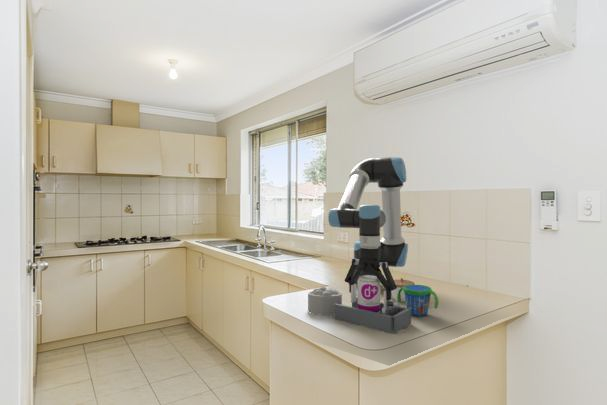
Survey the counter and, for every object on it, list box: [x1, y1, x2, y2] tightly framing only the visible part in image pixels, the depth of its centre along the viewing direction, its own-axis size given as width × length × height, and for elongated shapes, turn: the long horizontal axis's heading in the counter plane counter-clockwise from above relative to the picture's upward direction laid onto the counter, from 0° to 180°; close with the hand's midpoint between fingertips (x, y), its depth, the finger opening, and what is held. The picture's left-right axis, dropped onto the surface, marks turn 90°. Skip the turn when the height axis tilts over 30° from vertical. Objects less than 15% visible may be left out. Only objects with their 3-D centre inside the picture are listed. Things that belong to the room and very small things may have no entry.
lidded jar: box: [391, 278, 416, 303], centre depth 162 cm, size 11×11×9 cm
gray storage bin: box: [334, 301, 412, 335], centre depth 134 cm, size 24×13×6 cm, turn 50°
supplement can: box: [357, 275, 381, 313], centre depth 135 cm, size 8×8×15 cm
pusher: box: [382, 300, 400, 316], centre depth 129 cm, size 2×10×7 cm, turn 140°
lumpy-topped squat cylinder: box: [307, 286, 343, 316], centre depth 147 cm, size 10×13×9 cm
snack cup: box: [397, 284, 439, 317], centre depth 143 cm, size 16×10×10 cm
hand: (369, 305), depth 135 cm, fingers open, 13 cm apart
